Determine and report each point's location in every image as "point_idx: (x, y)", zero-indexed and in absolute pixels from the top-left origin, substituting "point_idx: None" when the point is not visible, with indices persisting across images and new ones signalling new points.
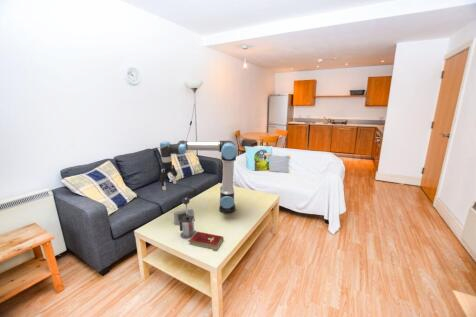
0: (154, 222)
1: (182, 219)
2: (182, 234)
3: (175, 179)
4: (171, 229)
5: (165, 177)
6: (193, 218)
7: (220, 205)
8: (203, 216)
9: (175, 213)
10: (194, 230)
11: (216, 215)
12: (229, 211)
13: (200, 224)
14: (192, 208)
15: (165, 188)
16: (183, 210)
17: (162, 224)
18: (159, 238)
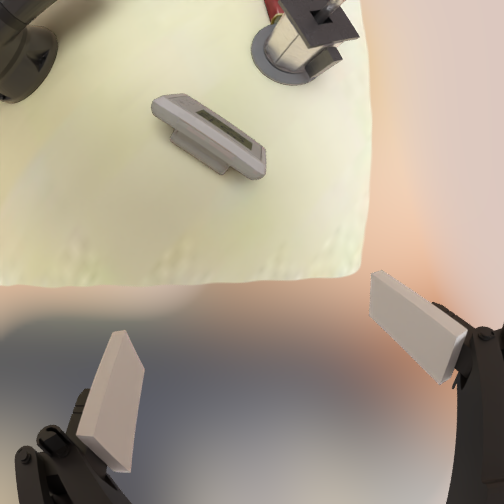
0: (287, 274)
1: (342, 36)
2: (306, 73)
3: (105, 383)
4: (294, 151)
5: (489, 407)
6: (182, 94)
7: (28, 68)
8: (116, 97)
9: (261, 160)
10: (254, 44)
11: (84, 56)
12: (48, 29)
13: (189, 57)
14: (155, 101)
15: (390, 279)
16: (210, 132)
17: (283, 225)
18: (363, 152)
